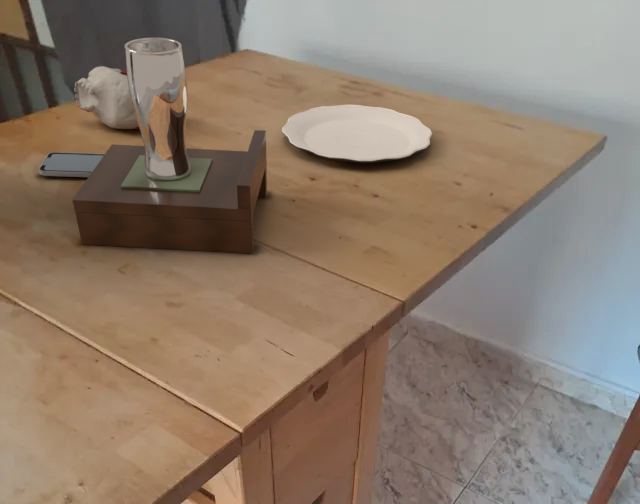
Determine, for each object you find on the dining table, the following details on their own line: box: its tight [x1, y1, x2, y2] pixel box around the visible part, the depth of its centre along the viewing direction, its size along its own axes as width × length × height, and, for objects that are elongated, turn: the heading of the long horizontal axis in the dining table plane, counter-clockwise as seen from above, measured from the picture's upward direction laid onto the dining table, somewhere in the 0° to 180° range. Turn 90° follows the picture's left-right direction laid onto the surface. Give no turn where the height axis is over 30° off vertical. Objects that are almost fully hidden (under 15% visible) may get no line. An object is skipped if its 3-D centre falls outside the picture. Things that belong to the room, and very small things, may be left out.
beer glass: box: [124, 37, 191, 181], centre depth 85 cm, size 7×7×15 cm
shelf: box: [72, 129, 268, 254], centre depth 91 cm, size 22×18×9 cm
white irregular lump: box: [73, 65, 140, 131], centre depth 116 cm, size 9×11×15 cm
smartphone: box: [38, 151, 105, 178], centre depth 105 cm, size 7×1×15 cm
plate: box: [281, 104, 433, 164], centre depth 116 cm, size 25×25×2 cm
